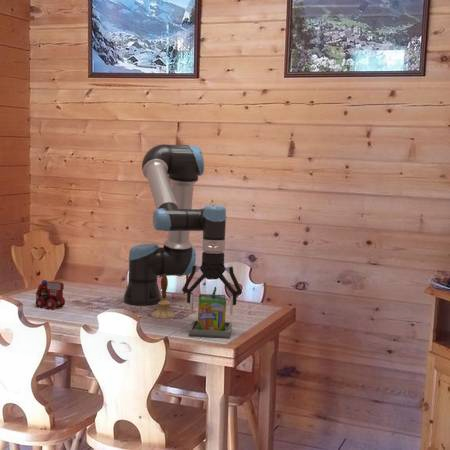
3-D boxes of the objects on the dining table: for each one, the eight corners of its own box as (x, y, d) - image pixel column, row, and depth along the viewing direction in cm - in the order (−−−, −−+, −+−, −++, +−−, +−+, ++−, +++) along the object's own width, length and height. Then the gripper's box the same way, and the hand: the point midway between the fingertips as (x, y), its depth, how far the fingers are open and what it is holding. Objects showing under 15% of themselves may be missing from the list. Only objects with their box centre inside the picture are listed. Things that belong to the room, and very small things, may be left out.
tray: (188, 336, 227) (189, 330, 227) (192, 326, 240) (193, 320, 240) (229, 338, 226) (230, 331, 226) (231, 328, 240) (231, 322, 240)
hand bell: (175, 319, 251) (176, 276, 249) (152, 319, 249) (154, 276, 248) (173, 314, 259) (175, 272, 257) (151, 314, 258) (152, 272, 256)
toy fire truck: (43, 303, 269) (43, 277, 268) (68, 307, 264) (68, 281, 263) (31, 306, 263) (31, 280, 262) (56, 310, 257) (56, 283, 256)
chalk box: (197, 326, 238) (198, 284, 236) (223, 327, 238) (225, 285, 237) (197, 333, 228) (199, 289, 227) (225, 333, 229) (226, 290, 228)
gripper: (175, 251, 228) (173, 314, 230) (250, 254, 226) (247, 317, 229) (177, 248, 235) (176, 309, 237) (250, 251, 234) (248, 312, 236)
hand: (211, 313), depth 233 cm, fingers open, 13 cm apart
